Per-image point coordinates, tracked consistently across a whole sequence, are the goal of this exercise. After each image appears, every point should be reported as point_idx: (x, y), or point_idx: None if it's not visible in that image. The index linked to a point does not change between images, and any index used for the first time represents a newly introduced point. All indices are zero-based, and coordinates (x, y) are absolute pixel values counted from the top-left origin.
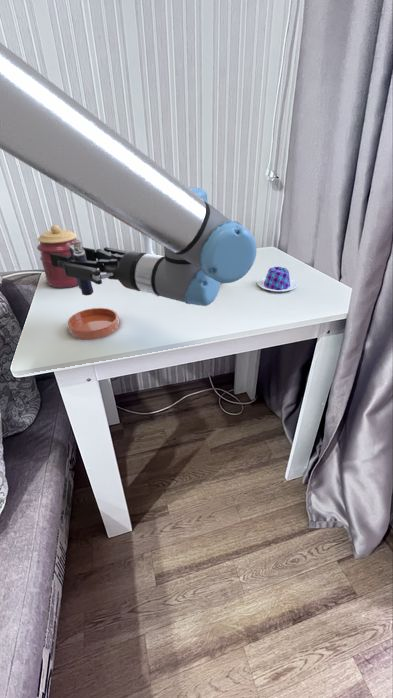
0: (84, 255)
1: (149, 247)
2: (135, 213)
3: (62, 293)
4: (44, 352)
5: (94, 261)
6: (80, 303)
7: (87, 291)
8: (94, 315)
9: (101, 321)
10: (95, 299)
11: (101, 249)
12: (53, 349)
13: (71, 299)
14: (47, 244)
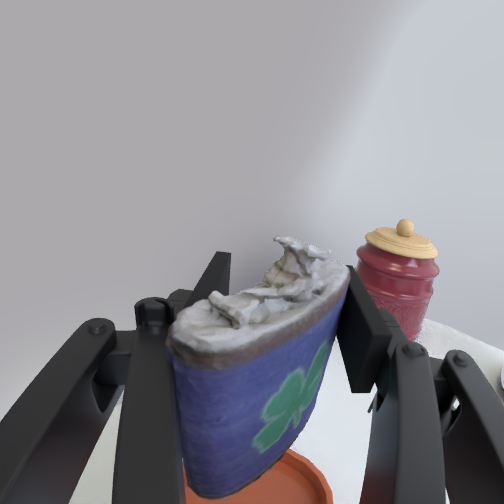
0: (221, 359)
1: None
2: None
3: (339, 350)
4: (91, 455)
5: (167, 481)
6: (332, 403)
7: (190, 485)
8: (298, 474)
9: None
10: (369, 415)
11: (428, 356)
12: (105, 468)
13: (332, 378)
14: (372, 247)
